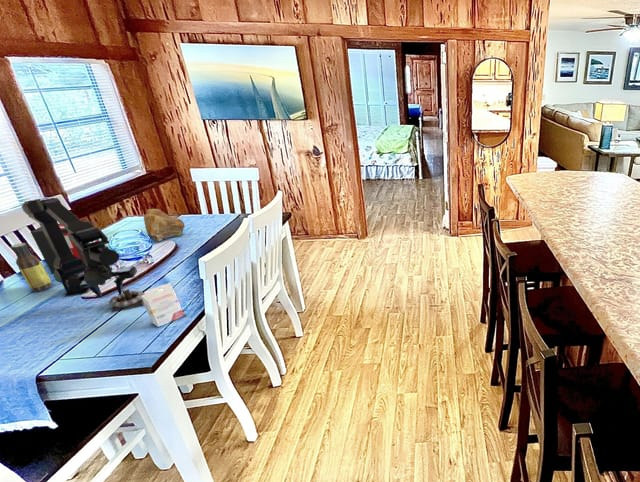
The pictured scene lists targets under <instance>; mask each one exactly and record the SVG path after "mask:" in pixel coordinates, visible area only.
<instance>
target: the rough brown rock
mask: <svg viewBox="0 0 640 482" xmlns="http://www.w3.org/2000/svg"><path fill="white" fill-rule="evenodd" d="M143 222H144V226H145V231H146V234H147V235H148V236H149V237H150V238H151V239H153V240H154V241H156V242H161V241H163V240H166V239H170V238H172V237H181V236H182V235H183V231H184V229H185V226H186V225H185V223H184V220H182V219H180V218H178V217H172V216H170V215H169V214H168V213H165V211H162V210H161V209H158V208H148V209H147V210H146V214H145V215H144V216H143ZM147 235H146V236H147ZM148 236H147V237H148ZM149 237H148V238H149Z"/></svg>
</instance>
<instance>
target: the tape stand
mask: <svg viewBox="0 0 640 482" xmlns="http://www.w3.org/2000/svg"><path fill="white" fill-rule="evenodd" d="M130 291H131V290H130V288H128V287H125V288H122V293H123V294H124V296H125V298H122V299H120V300H118V301H117V302H124V301H128V300H131V299H133V298H135V297H137V296H134V295H133V296H132V295H131V293H130ZM143 305H144V302H143V300H140V301H139V302H137V303H135V304H132V305H130V306H125V307H112V308H111V310H112V312H116V311H120V310H126V309H132V308H137V307H142V306H143Z"/></svg>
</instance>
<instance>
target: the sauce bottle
mask: <svg viewBox="0 0 640 482" xmlns="http://www.w3.org/2000/svg"><path fill="white" fill-rule="evenodd" d="M10 248H11V249H12V251H13V252H14V254H15V256H16V257H17V258H16V260H15V264H16V265H17V267H18V269H19V271H20V273H21V275H22V276H23V278H24V280H25V281H26V283H27V285H28V286H29V288H30V289H31V291H32V292H42V291H45V290H47V289H50V288H52V286H53V282H52V280H51V278H50V276H49V274H48V273H47V271H46V269H45V268H44V266H43V264H42V262H41V260H40V259H39V258H38V257H37V256H36V255H33V254H32V253H31V252H30V249H29V248H28V245H27V243H25V242H19V243H16V244H13V245H11V246H10Z"/></svg>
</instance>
